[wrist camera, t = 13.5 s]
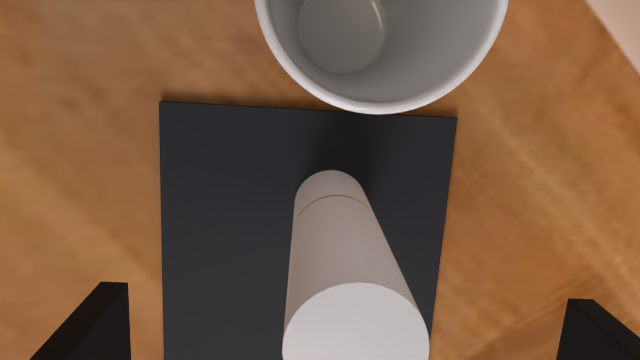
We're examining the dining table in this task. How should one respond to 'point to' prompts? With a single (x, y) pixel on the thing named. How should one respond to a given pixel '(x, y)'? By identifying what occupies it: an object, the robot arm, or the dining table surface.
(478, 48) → the drinking glass
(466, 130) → the dining table surface
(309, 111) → the charcoal mat
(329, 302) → the tube
